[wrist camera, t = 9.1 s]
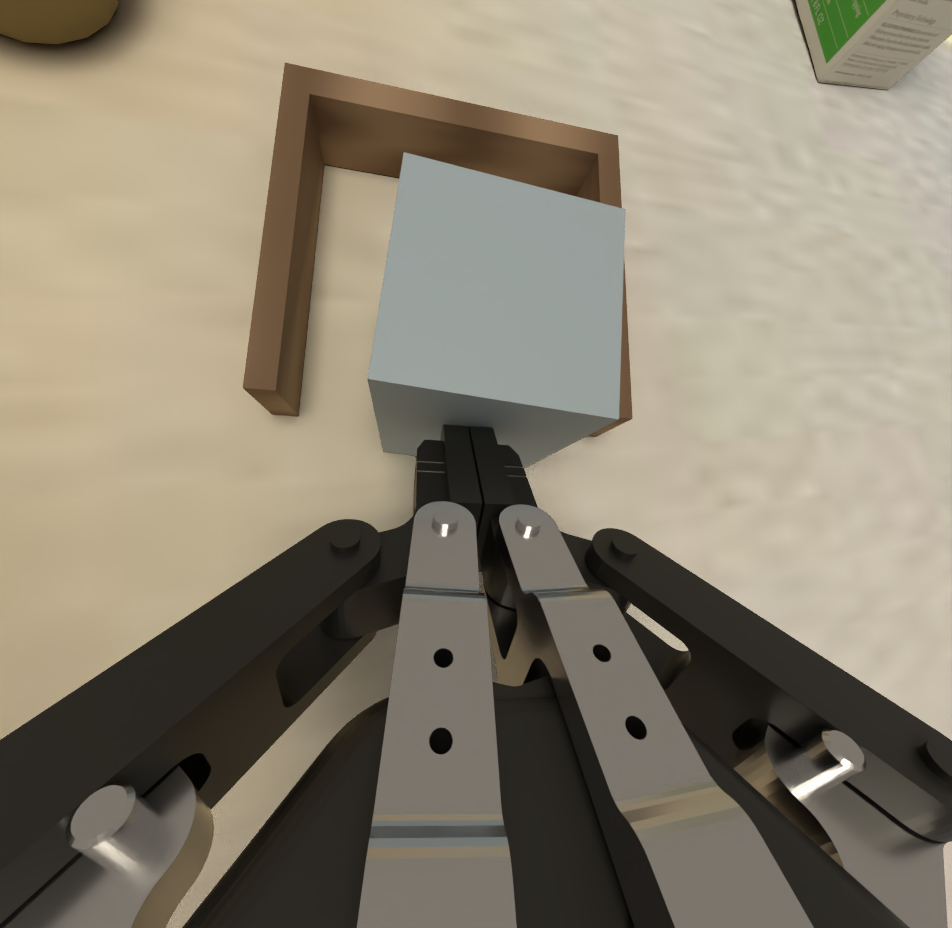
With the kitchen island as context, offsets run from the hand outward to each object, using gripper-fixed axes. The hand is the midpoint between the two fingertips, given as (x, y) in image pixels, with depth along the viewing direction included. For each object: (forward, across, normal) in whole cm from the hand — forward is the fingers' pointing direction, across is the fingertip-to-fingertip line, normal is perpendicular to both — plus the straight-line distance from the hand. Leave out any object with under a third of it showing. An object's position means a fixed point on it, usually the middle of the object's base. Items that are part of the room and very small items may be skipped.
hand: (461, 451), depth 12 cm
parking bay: (+9, 0, -2) cm, 9 cm away
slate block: (+6, -1, +1) cm, 6 cm away
